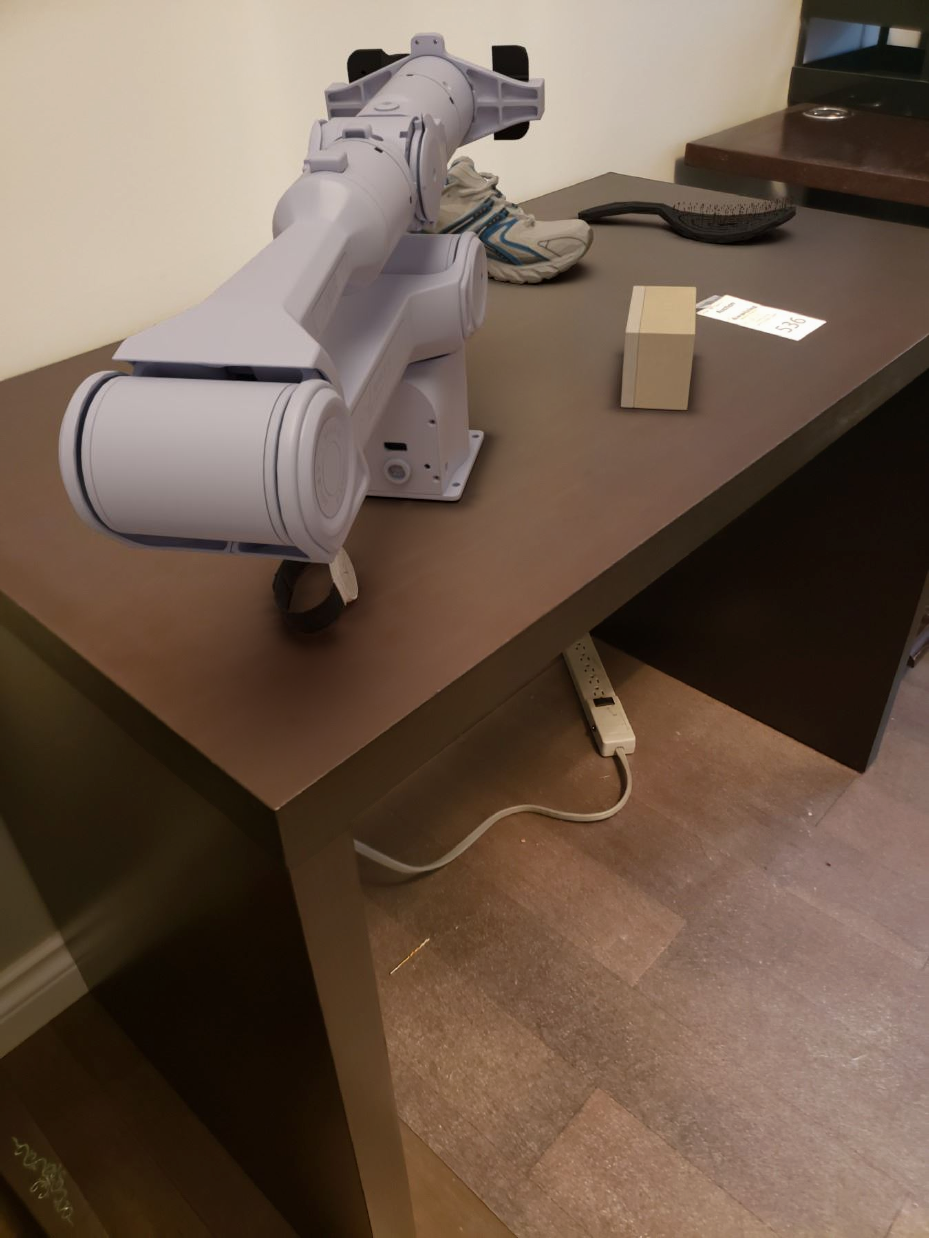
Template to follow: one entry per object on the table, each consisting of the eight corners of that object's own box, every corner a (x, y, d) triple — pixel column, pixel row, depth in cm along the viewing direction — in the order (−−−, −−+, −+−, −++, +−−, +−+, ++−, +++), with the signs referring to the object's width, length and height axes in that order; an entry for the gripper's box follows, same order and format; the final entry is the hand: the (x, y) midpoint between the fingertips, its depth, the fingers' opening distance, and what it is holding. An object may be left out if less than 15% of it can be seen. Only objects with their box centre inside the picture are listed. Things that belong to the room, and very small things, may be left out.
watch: (355, 639, 51) (347, 586, 49) (269, 645, 51) (257, 592, 49) (360, 560, 57) (353, 509, 55) (283, 565, 57) (273, 514, 55)
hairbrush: (591, 185, 113) (805, 190, 103) (592, 217, 115) (801, 225, 105) (565, 203, 108) (787, 210, 97) (565, 237, 110) (783, 247, 99)
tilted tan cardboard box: (686, 410, 71) (695, 334, 67) (620, 407, 72) (625, 331, 68) (688, 358, 79) (696, 286, 75) (628, 356, 80) (633, 285, 76)
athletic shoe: (588, 285, 93) (594, 150, 88) (367, 284, 97) (360, 156, 92) (597, 277, 102) (602, 154, 97) (394, 276, 106) (389, 159, 101)
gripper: (529, 49, 54) (558, 0, 64) (293, 55, 57) (355, 7, 66) (531, 176, 59) (558, 113, 69) (314, 177, 62) (368, 116, 71)
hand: (458, 68), depth 68 cm, fingers open, 7 cm apart
